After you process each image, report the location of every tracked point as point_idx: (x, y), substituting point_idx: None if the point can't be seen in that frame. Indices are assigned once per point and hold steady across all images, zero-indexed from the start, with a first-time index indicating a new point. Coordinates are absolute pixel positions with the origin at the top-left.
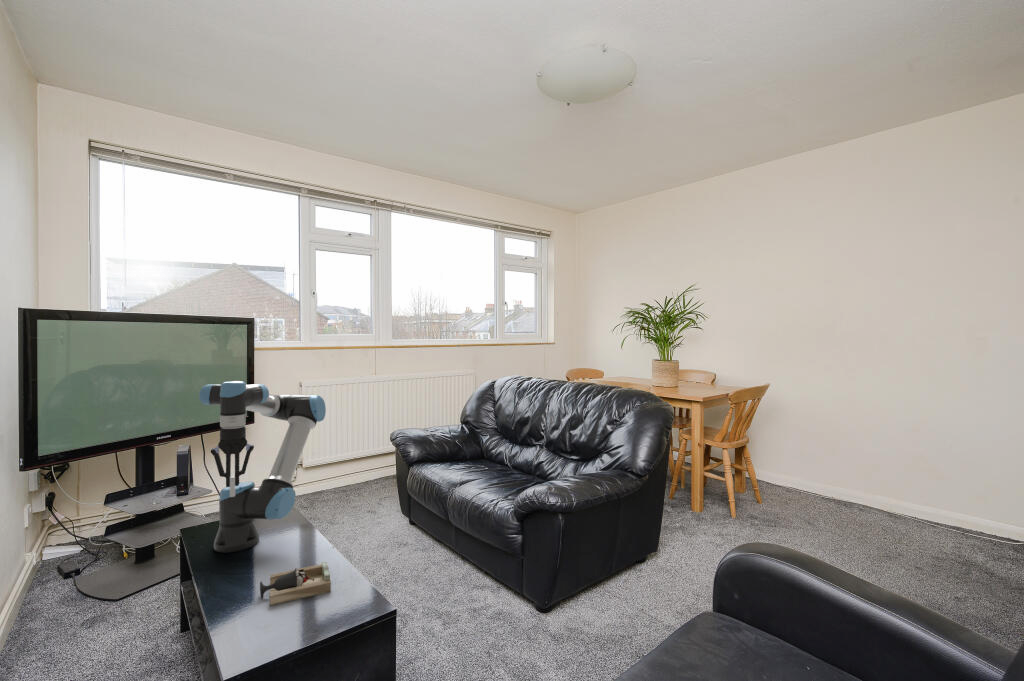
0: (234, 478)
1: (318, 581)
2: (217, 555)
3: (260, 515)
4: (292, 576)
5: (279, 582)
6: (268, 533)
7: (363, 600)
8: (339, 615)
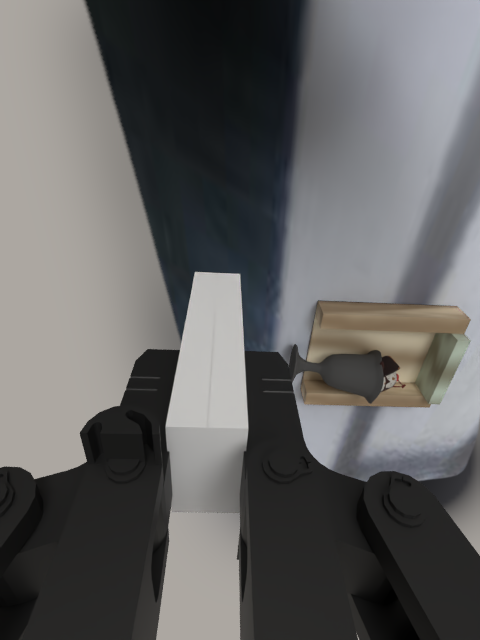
0: (233, 497)
1: (417, 350)
2: None
3: None
4: (363, 396)
5: (332, 386)
6: None
7: (451, 438)
8: (395, 457)
